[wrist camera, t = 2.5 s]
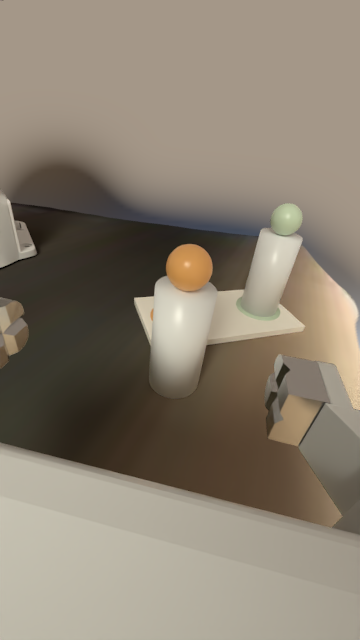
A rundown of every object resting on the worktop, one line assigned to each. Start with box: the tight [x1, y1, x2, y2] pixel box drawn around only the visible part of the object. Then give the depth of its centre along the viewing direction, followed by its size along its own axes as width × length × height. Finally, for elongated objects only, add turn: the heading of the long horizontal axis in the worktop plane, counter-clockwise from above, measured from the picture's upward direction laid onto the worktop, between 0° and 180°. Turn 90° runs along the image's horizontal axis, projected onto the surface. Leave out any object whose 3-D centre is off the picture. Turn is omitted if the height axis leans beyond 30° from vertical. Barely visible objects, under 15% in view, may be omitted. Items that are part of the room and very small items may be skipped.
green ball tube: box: [241, 203, 303, 317], centre depth 35 cm, size 5×5×13 cm
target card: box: [134, 290, 305, 346], centre depth 37 cm, size 10×20×1 cm, turn 109°
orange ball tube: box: [149, 244, 217, 399], centre depth 23 cm, size 5×5×13 cm
